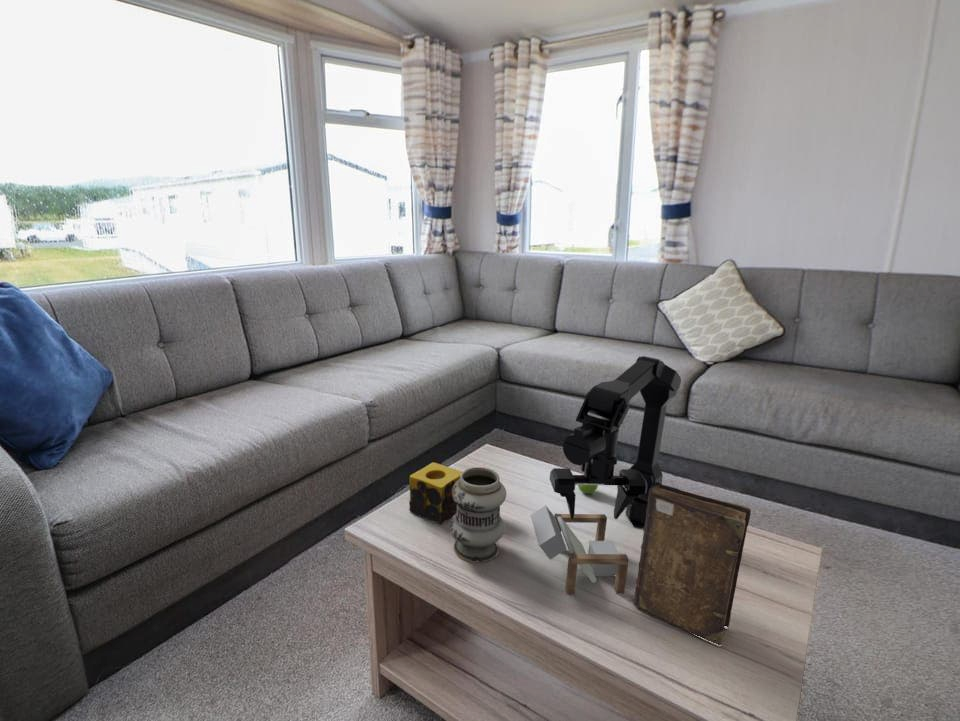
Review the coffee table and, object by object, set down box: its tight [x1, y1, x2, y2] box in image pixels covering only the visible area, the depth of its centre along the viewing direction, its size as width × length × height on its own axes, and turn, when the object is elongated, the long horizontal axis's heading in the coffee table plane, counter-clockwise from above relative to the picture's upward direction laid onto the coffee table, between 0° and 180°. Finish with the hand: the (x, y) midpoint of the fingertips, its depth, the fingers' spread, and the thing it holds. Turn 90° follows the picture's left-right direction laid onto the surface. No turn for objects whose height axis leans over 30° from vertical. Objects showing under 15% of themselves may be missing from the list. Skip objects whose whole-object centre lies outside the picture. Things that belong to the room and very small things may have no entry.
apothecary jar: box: [449, 466, 507, 563], centre depth 114 cm, size 12×12×18 cm
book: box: [632, 484, 752, 646], centre depth 95 cm, size 17×7×25 cm, turn 51°
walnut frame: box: [553, 513, 630, 595], centre depth 110 cm, size 12×16×8 cm
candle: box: [408, 462, 463, 525], centre depth 130 cm, size 10×10×10 cm
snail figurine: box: [577, 473, 599, 495], centre depth 142 cm, size 5×6×12 cm
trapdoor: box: [530, 505, 598, 583], centre depth 110 cm, size 14×12×5 cm
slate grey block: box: [587, 540, 620, 577], centre depth 111 cm, size 5×5×5 cm
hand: (593, 518), depth 108 cm, fingers open, 9 cm apart
